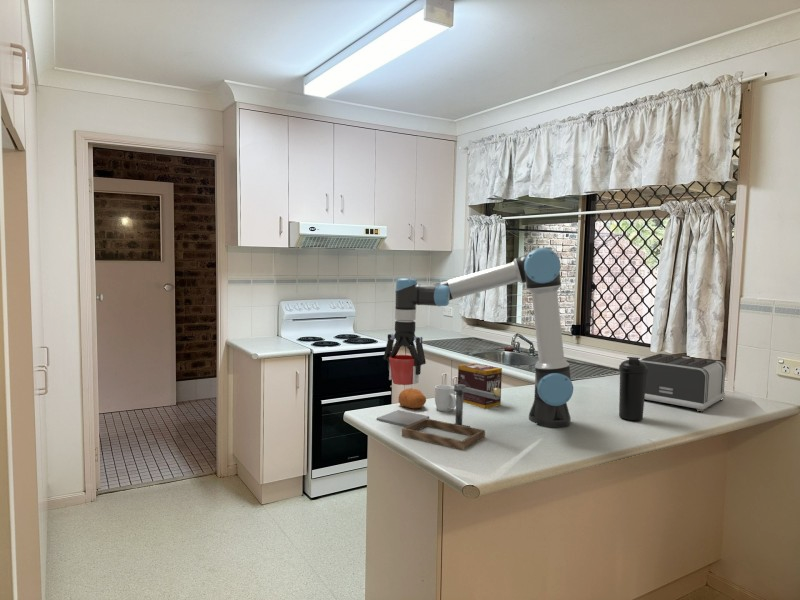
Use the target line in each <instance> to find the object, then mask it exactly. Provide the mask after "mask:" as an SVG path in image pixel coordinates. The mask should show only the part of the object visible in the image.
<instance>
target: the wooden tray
mask: <svg viewBox="0 0 800 600" xmlns="http://www.w3.org/2000/svg"><path fill="white" fill-rule="evenodd" d="M466 426H467V425H466ZM466 426H461V425H457V424H455V423H450V422H445V421H443V420H441V421H440V420H436V419H432V418H429V419H427V418H425V419H423V420H421V421H418V422H416V423H414V424H411V425H409V426H407V427H406V426H403V427H401V437H405V438H409V439H413V440H419V441H421V442H427V443H432V444H435V445H439V446H444V447H448V448H451V449H452V448H453V449H457V450H462V451H464V450H466V449H468V448H469V447H471V446H473V445H474V444H476V443H478V442H479V441H481V440H483V439H485V437H486V429H481V428H476V427H471V426H470V427H466ZM426 427H429V428H433V429H438V430H443V431H447V432H452V433H456V434H461V435H467V436H468V437H467V438H465V439H463V440H460V439H457V438H451V437H447V436H442V435H437V434H434V433H429V432H423V431H420V430H422V429H424V428H426Z"/></svg>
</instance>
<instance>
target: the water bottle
mask: <svg viewBox="0 0 800 600" xmlns="http://www.w3.org/2000/svg"><path fill="white" fill-rule="evenodd" d="M626 358H627V359H626V360H624V361H622V362H620V364H619V367H618V371H619V404H618V407H619V408H618V410H619V411H618V416H619V417H620V418H621V419H625V420H629V421H641V420H643V418H644V409H645V399H644V398H645V386H646V374H647V372H648V368H647V366H646V365H645V364H644V363H643V362H641V361H640V360H641V358H640V357H636V356H635V357H634V356H627V357H626Z"/></svg>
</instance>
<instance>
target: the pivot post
mask: <svg viewBox="0 0 800 600" xmlns="http://www.w3.org/2000/svg"><path fill="white" fill-rule="evenodd" d="M455 395H456V396H455V398H456V406H455V423H454V424H457V425H461V426H466V427H471V425H466V424H463V408H464V406H463V405H464V402H463V392H455Z"/></svg>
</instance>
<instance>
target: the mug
mask: <svg viewBox="0 0 800 600" xmlns="http://www.w3.org/2000/svg"><path fill="white" fill-rule="evenodd" d="M455 395H456V392H455V391H454V385H449V384H438V385H435V386H434V401H435V403H434V404H435V406H436V408H437V410H438V411H439V412H450V411H451V410H452V409H456V396H455Z"/></svg>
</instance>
